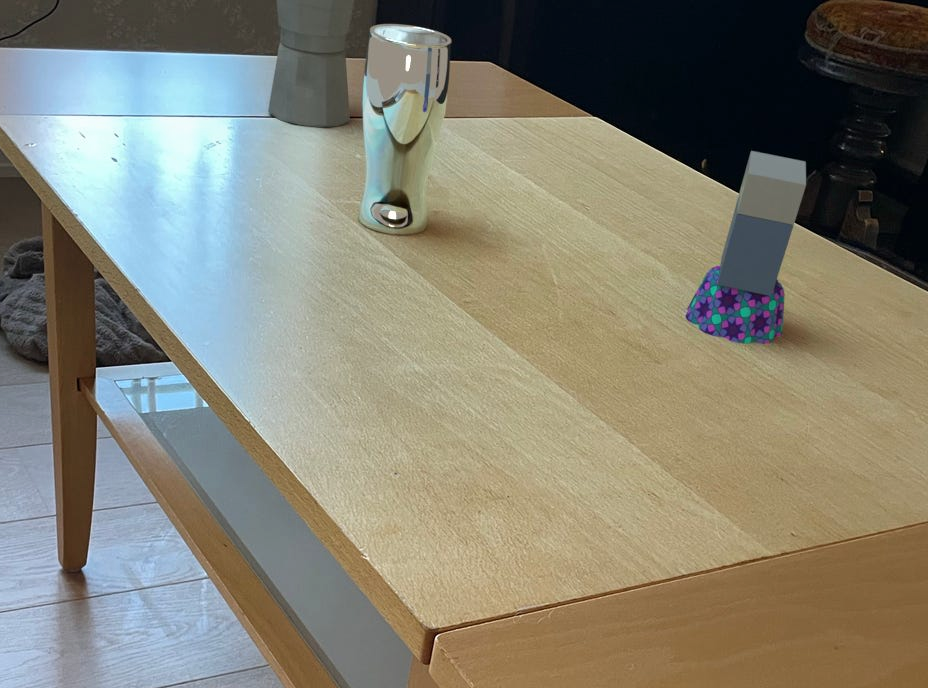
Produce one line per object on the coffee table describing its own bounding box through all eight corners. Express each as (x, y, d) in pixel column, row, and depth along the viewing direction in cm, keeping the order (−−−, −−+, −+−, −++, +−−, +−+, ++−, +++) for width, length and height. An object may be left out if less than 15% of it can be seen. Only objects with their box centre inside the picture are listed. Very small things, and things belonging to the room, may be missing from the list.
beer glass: (339, 209, 102) (352, 21, 93) (410, 206, 105) (429, 24, 96) (373, 239, 98) (390, 44, 88) (445, 235, 101) (469, 46, 91)
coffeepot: (374, 133, 121) (390, -65, 110) (290, 134, 117) (298, -71, 106) (319, 91, 132) (328, -94, 120) (239, 90, 128) (242, -101, 116)
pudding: (666, 298, 96) (682, 235, 92) (810, 334, 93) (832, 271, 90) (637, 351, 86) (653, 283, 83) (795, 393, 84) (819, 324, 81)
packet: (772, 269, 89) (805, 161, 84) (771, 296, 84) (806, 184, 79) (721, 258, 89) (751, 150, 84) (717, 285, 85) (748, 172, 80)
